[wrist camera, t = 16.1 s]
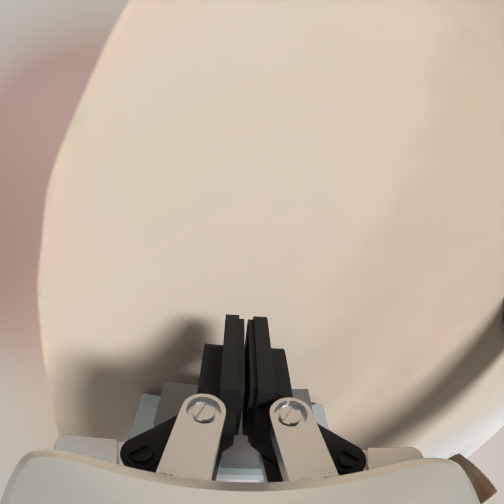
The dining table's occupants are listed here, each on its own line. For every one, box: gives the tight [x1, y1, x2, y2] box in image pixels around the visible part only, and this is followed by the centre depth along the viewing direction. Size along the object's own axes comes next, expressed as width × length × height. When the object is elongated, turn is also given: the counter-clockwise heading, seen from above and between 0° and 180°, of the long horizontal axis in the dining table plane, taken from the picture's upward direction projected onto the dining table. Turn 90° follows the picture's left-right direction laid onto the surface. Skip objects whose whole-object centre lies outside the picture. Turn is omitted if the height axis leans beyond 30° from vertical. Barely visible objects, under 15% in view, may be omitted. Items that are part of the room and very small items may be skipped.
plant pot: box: [448, 454, 497, 504], centre depth 27 cm, size 15×15×16 cm
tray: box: [128, 381, 329, 482], centre depth 17 cm, size 18×14×6 cm
